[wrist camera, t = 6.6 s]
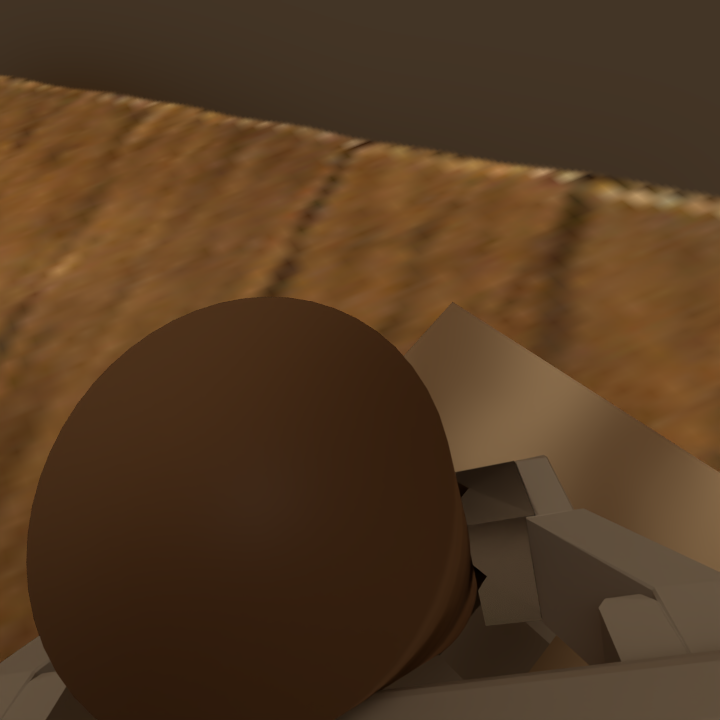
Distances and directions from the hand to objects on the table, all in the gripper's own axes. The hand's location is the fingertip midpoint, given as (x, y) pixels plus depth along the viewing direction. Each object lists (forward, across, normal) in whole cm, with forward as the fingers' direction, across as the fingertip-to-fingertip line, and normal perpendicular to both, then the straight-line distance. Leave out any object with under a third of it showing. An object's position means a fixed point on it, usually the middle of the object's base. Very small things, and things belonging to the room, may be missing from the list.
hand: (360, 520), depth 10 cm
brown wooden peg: (+4, 0, +5) cm, 6 cm away
